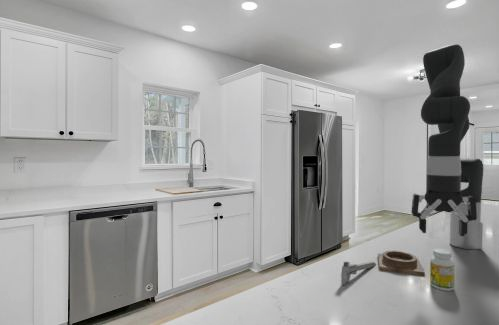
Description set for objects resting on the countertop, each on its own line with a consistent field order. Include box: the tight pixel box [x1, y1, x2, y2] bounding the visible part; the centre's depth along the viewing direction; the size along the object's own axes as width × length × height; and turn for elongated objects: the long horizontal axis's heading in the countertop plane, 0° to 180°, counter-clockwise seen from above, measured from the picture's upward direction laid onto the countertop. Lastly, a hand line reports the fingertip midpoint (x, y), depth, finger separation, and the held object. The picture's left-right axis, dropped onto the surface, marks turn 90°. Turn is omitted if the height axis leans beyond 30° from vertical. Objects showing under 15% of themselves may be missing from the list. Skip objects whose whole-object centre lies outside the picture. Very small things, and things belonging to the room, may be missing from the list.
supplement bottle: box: [429, 248, 455, 292], centre depth 77 cm, size 5×5×10 cm
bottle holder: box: [377, 250, 426, 277], centre depth 92 cm, size 12×12×3 cm
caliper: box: [340, 260, 377, 286], centre depth 85 cm, size 21×1×6 cm, turn 134°
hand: (442, 233), depth 77 cm, fingers open, 8 cm apart
